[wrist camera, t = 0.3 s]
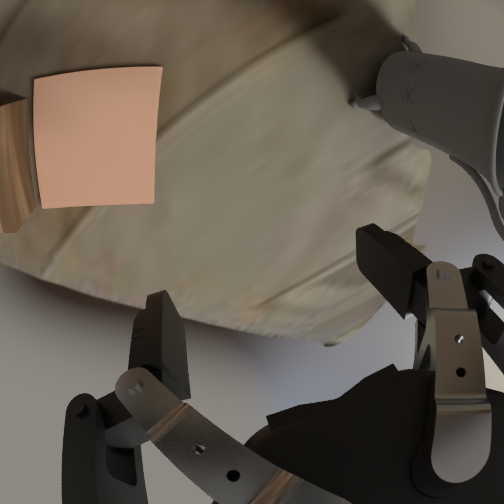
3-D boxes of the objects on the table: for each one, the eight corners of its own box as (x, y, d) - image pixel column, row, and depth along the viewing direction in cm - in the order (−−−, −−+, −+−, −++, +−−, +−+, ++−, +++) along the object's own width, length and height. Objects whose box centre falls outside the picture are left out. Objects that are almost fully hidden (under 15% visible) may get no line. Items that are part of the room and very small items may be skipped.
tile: (37, 79, 18) (34, 79, 17) (163, 66, 22) (162, 66, 22) (44, 205, 26) (42, 208, 26) (154, 200, 31) (154, 203, 30)
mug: (363, 15, 23) (562, 35, 3) (437, 56, 27) (585, 107, 7) (339, 149, 33) (504, 271, 14) (413, 164, 37) (540, 257, 18)
